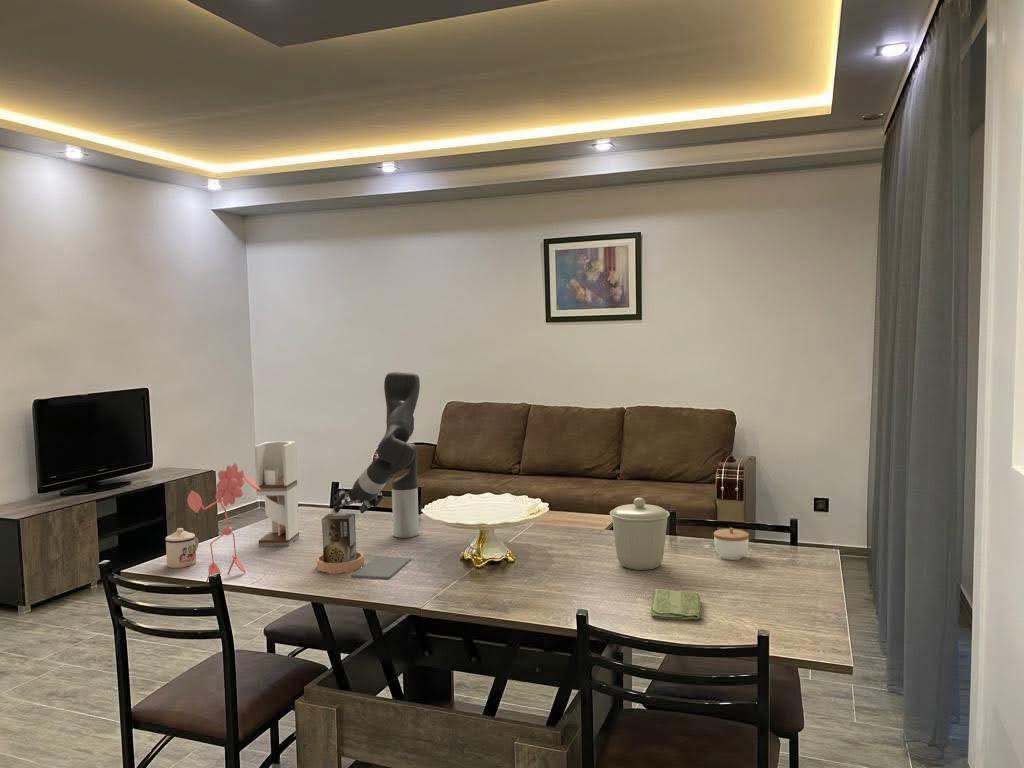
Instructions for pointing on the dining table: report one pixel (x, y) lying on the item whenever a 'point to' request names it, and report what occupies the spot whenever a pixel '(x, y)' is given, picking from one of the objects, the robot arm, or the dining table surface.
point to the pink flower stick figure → (229, 491)
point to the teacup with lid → (181, 549)
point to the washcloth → (676, 605)
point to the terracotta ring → (340, 564)
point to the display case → (278, 490)
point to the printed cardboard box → (339, 538)
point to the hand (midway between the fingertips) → (348, 510)
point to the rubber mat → (381, 567)
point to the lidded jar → (731, 543)
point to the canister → (639, 534)
